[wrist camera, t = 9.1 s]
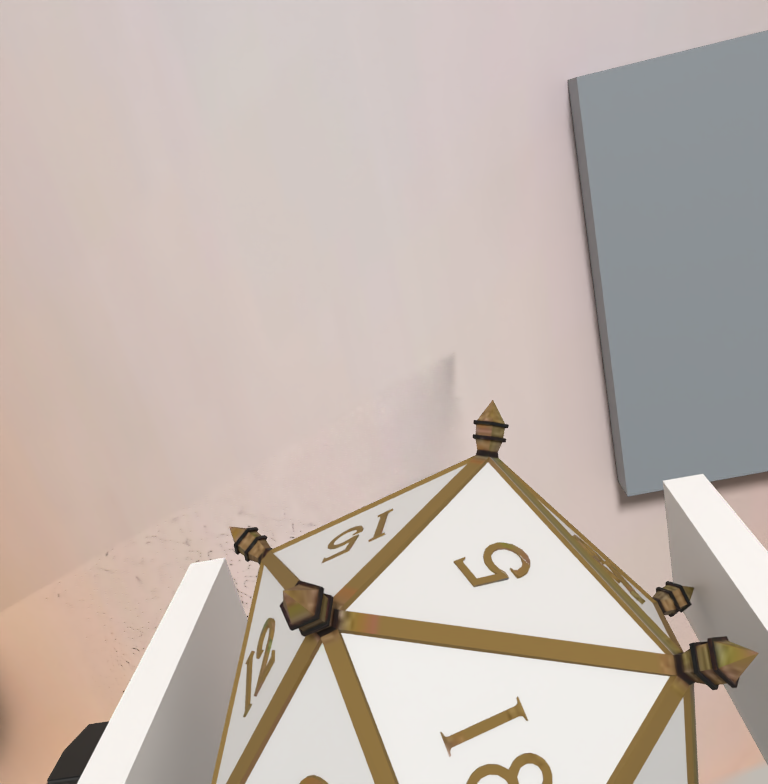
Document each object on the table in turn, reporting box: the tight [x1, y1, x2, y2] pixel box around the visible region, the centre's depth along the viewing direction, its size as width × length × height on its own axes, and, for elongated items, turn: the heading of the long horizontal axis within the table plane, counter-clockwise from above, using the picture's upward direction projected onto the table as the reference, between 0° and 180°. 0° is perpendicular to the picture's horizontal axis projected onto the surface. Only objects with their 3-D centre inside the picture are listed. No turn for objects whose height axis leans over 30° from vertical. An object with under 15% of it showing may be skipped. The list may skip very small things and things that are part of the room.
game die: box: [211, 400, 759, 784], centre depth 11 cm, size 9×8×10 cm
